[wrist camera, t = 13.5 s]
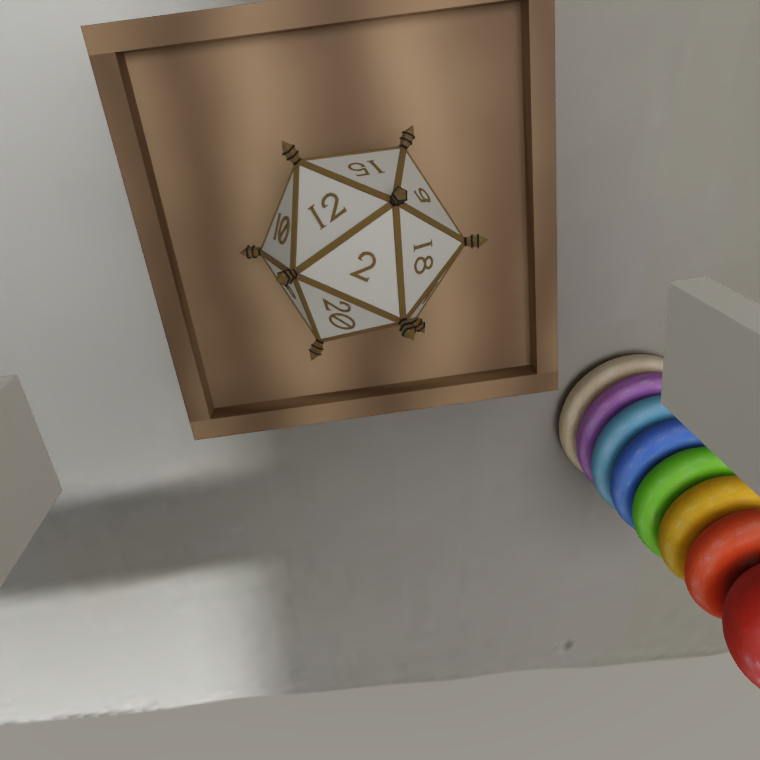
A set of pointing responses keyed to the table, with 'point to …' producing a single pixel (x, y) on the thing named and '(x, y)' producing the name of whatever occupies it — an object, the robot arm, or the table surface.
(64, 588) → the table surface
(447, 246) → the game die
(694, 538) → the stacking toy
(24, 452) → the robot arm
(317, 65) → the square tray
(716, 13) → the table surface
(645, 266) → the table surface
